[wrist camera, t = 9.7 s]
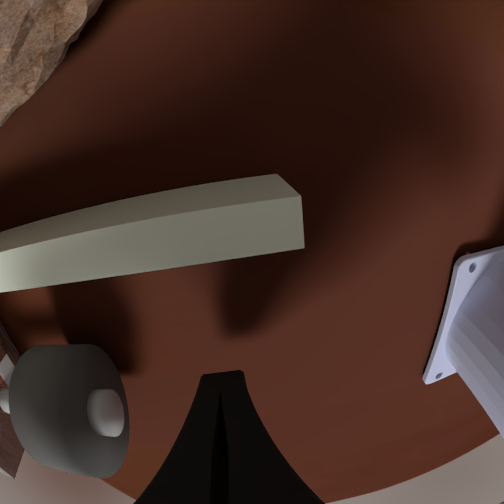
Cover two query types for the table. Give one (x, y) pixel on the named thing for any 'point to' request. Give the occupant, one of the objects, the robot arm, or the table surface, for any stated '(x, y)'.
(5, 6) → the stone
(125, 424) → the wheel
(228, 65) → the table surface
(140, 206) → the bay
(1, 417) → the axle mount
